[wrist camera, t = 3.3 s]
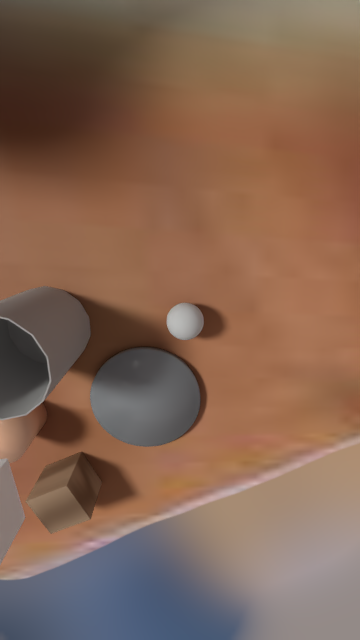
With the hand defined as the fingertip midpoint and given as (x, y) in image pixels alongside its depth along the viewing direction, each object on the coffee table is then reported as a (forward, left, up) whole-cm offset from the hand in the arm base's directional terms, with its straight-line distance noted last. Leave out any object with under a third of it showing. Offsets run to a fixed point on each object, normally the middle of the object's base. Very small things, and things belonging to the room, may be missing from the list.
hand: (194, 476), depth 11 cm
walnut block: (+19, -15, -21) cm, 32 cm away
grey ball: (0, 0, -21) cm, 21 cm away
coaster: (+9, -5, -21) cm, 23 cm away
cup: (0, -14, -21) cm, 25 cm away
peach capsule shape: (+10, -19, -21) cm, 30 cm away
